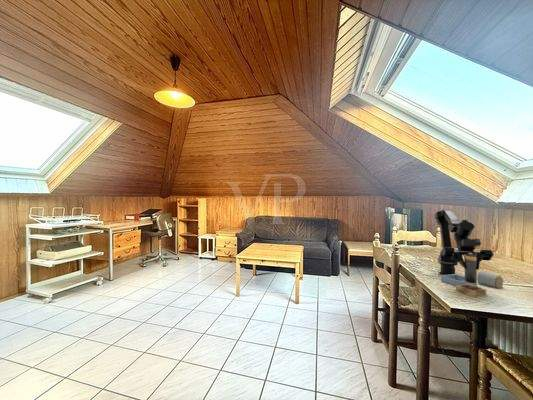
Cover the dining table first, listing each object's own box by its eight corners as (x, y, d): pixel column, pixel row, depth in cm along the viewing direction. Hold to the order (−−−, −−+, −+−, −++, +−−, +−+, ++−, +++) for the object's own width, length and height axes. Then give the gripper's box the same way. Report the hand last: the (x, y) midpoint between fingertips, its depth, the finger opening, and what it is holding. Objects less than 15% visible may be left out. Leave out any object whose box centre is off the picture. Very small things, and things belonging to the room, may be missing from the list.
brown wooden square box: (454, 292, 114) (453, 285, 114) (467, 290, 116) (467, 283, 116) (474, 299, 105) (474, 291, 105) (488, 297, 107) (488, 289, 107)
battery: (462, 280, 112) (461, 252, 112) (469, 279, 113) (468, 251, 113) (472, 283, 108) (472, 254, 108) (479, 282, 109) (479, 253, 109)
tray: (441, 282, 127) (440, 275, 127) (455, 281, 129) (455, 273, 130) (461, 289, 117) (461, 281, 117) (476, 287, 119) (476, 280, 119)
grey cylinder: (496, 290, 115) (496, 275, 115) (476, 285, 123) (476, 271, 123) (507, 287, 119) (507, 273, 120) (487, 282, 127) (487, 269, 127)
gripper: (443, 231, 118) (451, 257, 108) (491, 233, 110) (503, 261, 100) (439, 244, 125) (446, 269, 115) (484, 246, 118) (495, 274, 107)
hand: (471, 268), depth 109 cm, fingers closed on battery, 4 cm apart
